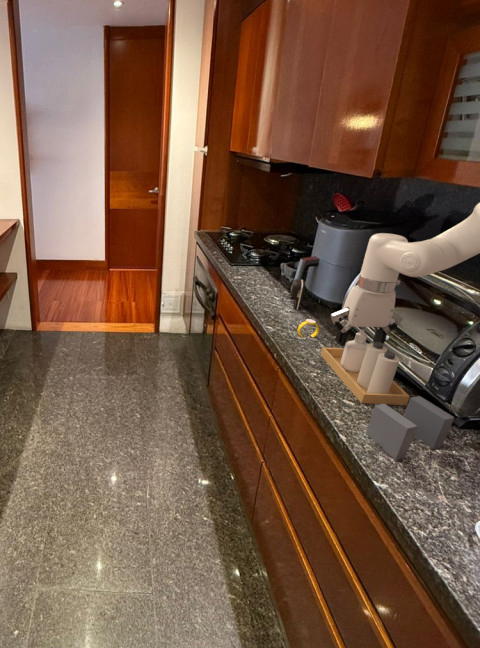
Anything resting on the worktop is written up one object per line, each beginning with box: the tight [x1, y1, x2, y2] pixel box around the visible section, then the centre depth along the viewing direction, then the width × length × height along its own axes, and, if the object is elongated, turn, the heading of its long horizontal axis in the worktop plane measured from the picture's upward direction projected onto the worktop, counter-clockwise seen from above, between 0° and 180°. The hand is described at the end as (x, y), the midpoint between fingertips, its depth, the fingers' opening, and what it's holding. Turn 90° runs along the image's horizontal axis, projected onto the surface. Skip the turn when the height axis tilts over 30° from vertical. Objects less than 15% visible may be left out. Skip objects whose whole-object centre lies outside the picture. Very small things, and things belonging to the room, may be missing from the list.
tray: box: [320, 347, 411, 406], centre depth 101 cm, size 21×10×3 cm, turn 176°
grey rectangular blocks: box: [365, 395, 455, 461], centre depth 80 cm, size 12×7×8 cm, turn 105°
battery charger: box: [289, 278, 306, 314], centre depth 138 cm, size 7×4×11 cm, turn 155°
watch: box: [297, 318, 320, 338], centre depth 121 cm, size 6×3×6 cm, turn 87°
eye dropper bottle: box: [340, 329, 369, 372], centre depth 103 cm, size 4×6×12 cm
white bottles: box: [357, 342, 400, 394], centre depth 94 cm, size 8×4×12 cm, turn 176°
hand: (358, 344), depth 102 cm, fingers open, 9 cm apart
